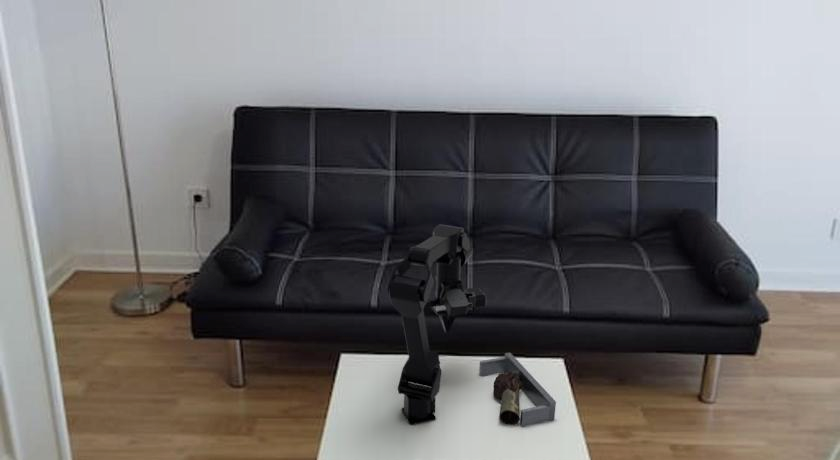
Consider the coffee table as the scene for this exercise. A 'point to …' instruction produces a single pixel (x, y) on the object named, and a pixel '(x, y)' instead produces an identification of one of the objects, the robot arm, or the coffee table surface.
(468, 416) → the coffee table surface
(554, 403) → the grey u-shaped bracket
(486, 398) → the coffee table surface
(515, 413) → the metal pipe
